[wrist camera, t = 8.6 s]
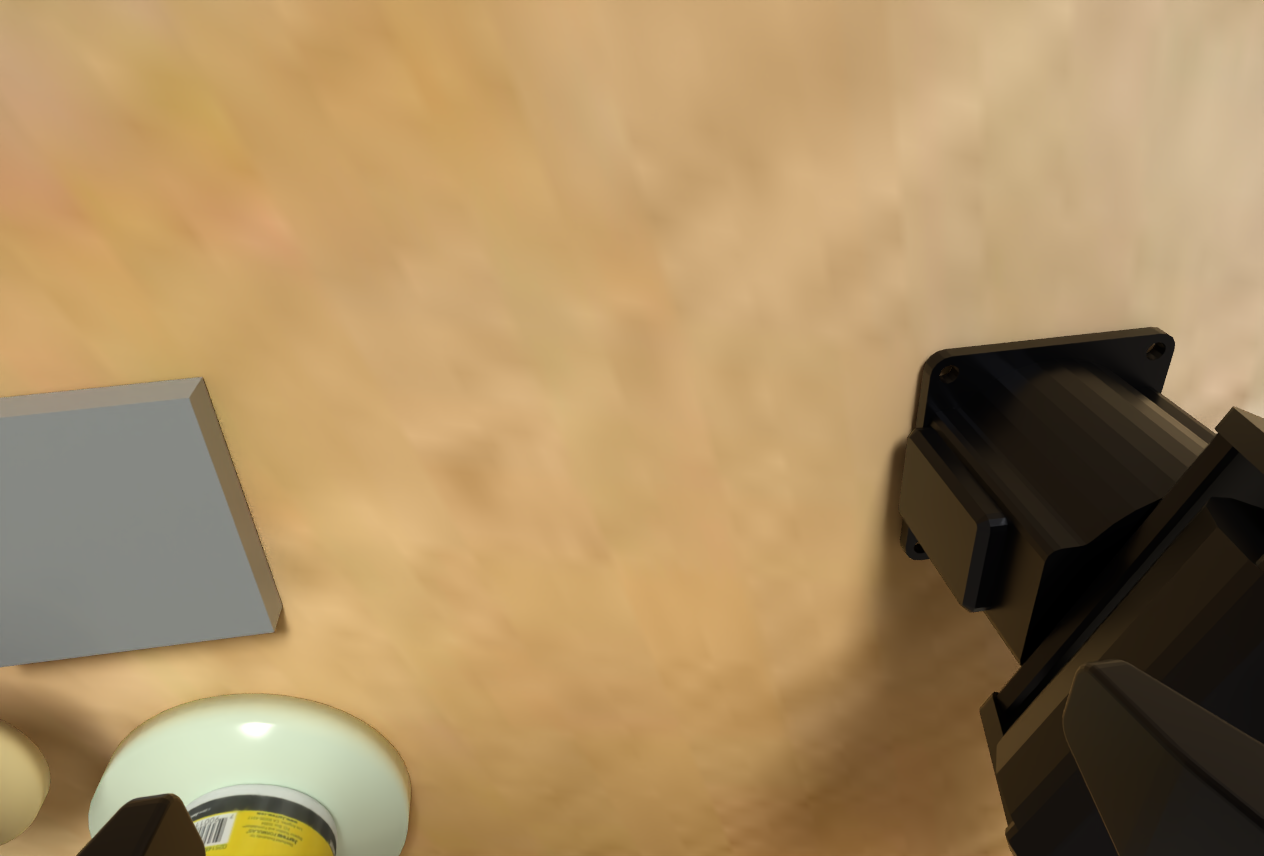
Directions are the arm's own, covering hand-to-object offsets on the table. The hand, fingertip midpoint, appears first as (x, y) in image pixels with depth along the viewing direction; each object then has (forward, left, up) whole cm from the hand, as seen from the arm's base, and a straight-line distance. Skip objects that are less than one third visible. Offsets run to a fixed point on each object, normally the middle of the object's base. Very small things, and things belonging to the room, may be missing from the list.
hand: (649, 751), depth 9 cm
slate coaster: (+12, +5, -13) cm, 18 cm away
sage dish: (+11, +16, -13) cm, 23 cm away
